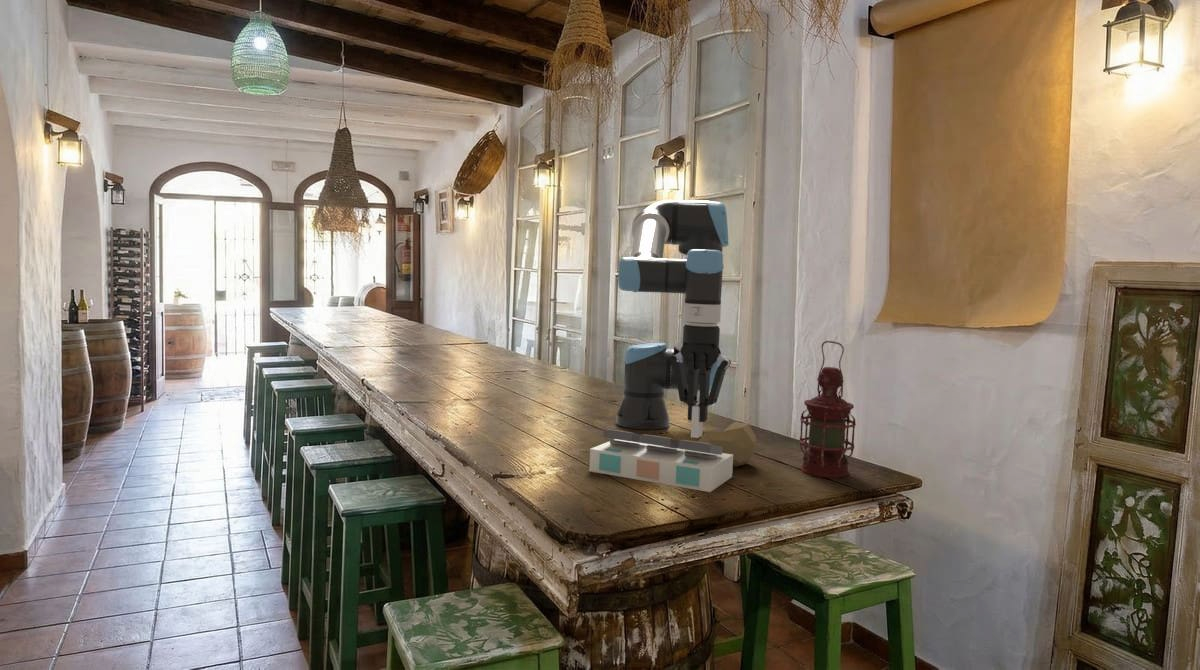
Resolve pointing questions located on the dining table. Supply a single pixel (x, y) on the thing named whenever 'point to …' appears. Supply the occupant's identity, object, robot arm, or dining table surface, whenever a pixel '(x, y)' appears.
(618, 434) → the rocker
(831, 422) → the lantern
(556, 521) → the dining table surface
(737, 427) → the low-poly potato
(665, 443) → the rocker middle
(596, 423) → the dining table surface
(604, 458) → the console
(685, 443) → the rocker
